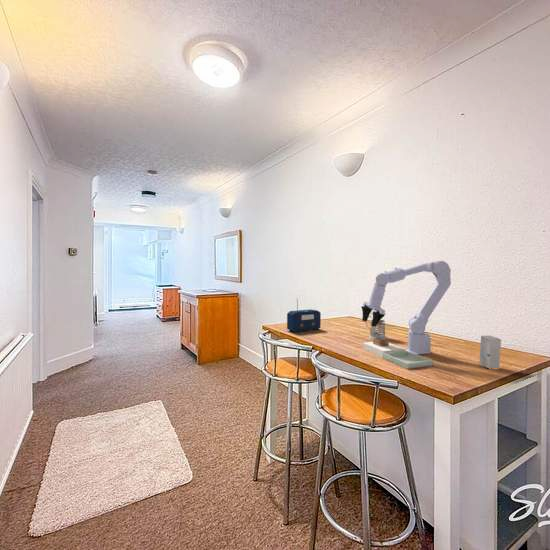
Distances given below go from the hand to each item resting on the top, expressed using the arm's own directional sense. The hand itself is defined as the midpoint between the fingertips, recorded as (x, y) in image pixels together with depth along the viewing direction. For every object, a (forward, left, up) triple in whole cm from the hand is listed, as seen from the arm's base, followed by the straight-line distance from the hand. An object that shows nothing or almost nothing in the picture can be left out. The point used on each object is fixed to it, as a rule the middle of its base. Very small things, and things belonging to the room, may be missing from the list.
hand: (368, 323), depth 148 cm
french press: (-17, -17, -12) cm, 27 cm away
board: (-2, +9, -12) cm, 15 cm away
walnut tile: (-2, +7, -8) cm, 10 cm away
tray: (-2, +24, -12) cm, 27 cm away
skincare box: (-29, +39, -12) cm, 50 cm away
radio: (+14, -47, -12) cm, 50 cm away
